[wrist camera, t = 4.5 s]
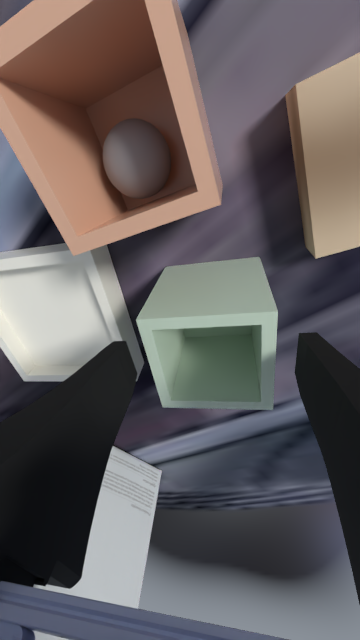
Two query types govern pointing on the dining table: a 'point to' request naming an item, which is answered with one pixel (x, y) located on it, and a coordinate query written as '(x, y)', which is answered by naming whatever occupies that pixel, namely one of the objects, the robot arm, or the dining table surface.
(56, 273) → the tray
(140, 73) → the pot terracotta
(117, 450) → the skincare box
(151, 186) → the ball
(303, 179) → the cedar offcut
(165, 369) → the pot green
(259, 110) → the dining table surface
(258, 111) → the dining table surface
